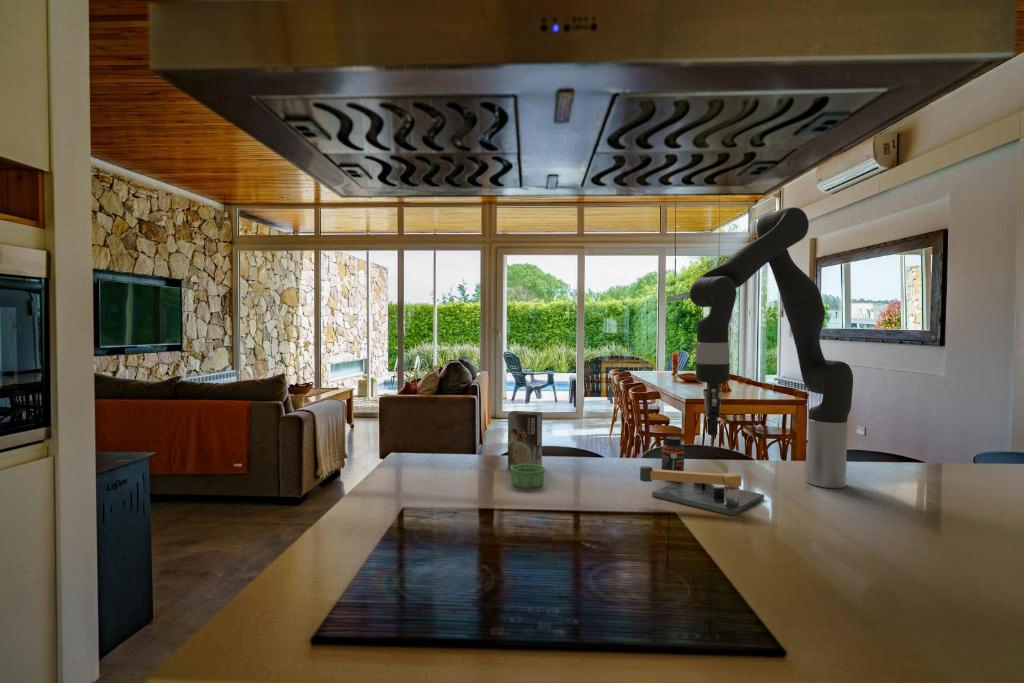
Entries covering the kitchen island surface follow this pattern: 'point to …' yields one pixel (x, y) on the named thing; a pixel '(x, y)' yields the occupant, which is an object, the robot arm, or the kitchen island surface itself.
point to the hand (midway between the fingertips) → (712, 434)
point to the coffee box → (524, 438)
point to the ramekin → (527, 475)
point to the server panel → (709, 496)
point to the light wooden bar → (689, 477)
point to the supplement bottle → (673, 454)
